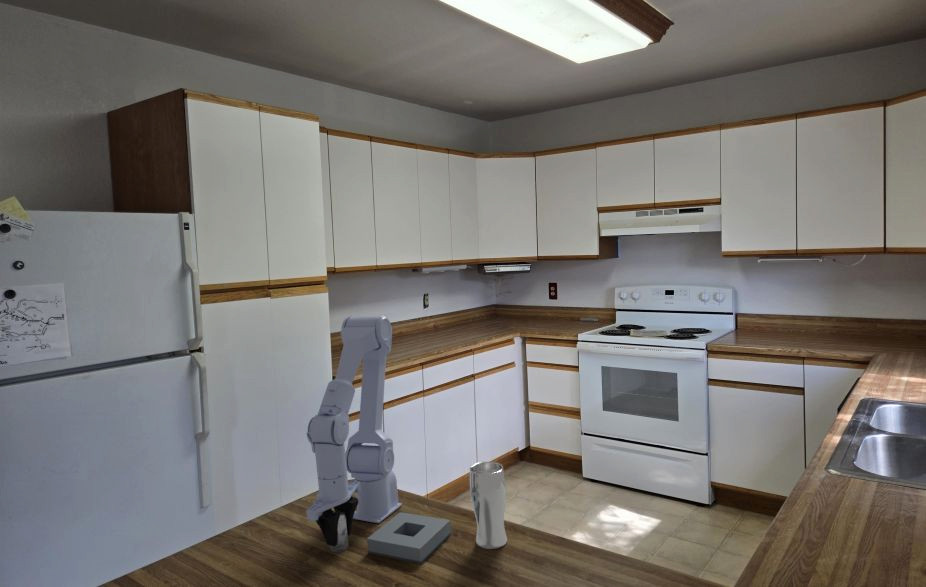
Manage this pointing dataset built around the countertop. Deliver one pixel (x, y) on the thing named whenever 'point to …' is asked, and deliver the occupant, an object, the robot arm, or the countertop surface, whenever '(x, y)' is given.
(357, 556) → the countertop surface
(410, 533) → the hole block
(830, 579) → the countertop surface
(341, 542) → the peg
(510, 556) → the countertop surface
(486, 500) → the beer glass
